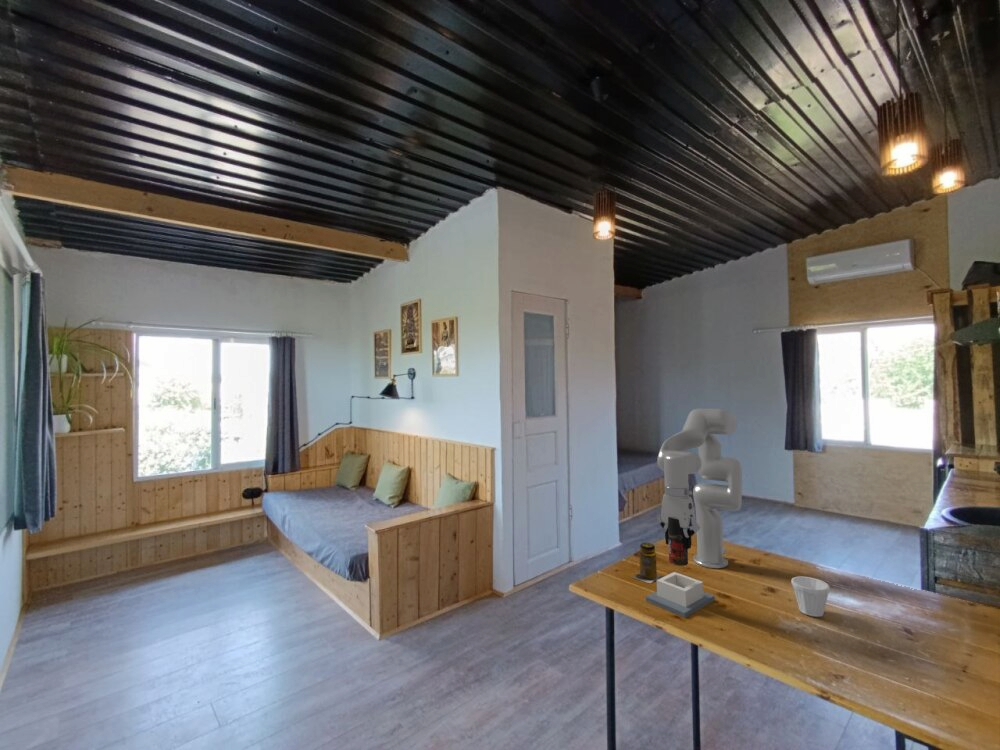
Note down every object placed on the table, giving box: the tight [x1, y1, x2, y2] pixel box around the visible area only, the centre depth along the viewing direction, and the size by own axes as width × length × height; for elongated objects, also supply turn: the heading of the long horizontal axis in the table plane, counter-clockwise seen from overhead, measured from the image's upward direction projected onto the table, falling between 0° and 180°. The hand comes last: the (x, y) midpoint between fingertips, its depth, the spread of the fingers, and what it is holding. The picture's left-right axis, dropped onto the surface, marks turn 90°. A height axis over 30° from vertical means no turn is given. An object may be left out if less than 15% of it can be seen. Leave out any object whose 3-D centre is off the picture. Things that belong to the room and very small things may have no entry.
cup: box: [790, 576, 831, 618], centre depth 141 cm, size 10×10×9 cm
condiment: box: [632, 542, 662, 584], centre depth 170 cm, size 7×8×12 cm
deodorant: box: [668, 517, 689, 566], centre depth 151 cm, size 6×6×15 cm
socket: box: [645, 571, 716, 619], centre depth 151 cm, size 18×14×6 cm
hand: (678, 545), depth 151 cm, fingers closed on deodorant, 5 cm apart
